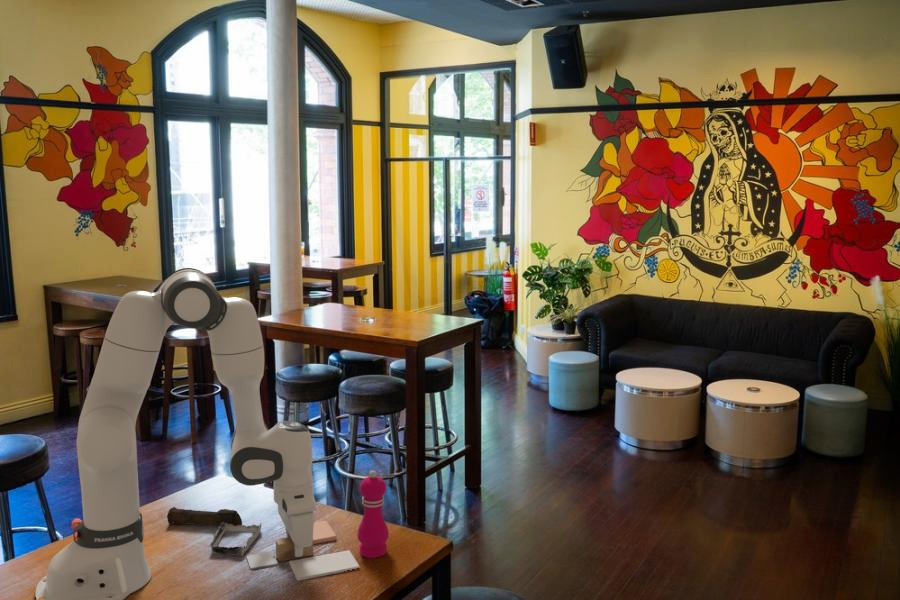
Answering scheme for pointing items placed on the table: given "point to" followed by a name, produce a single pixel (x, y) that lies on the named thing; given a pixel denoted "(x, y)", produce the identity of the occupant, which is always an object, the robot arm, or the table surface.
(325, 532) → the tile
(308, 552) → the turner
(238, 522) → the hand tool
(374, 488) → the pepper mill
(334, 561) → the pad
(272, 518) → the table surface
